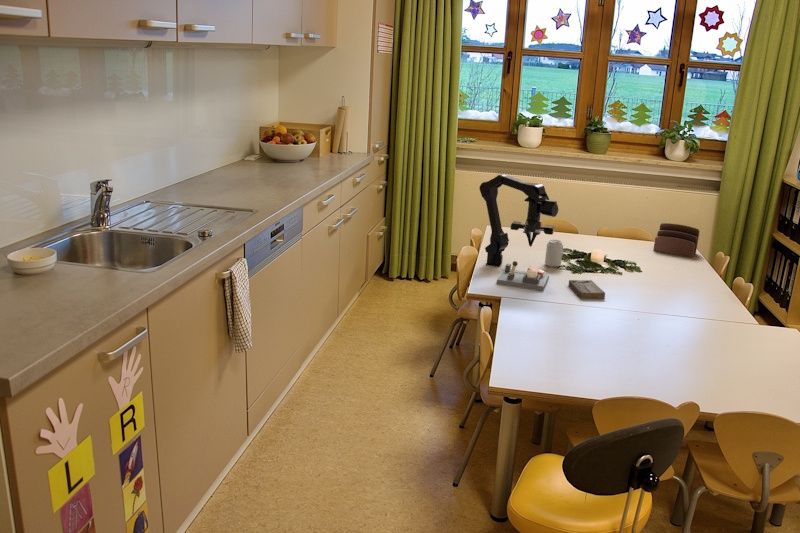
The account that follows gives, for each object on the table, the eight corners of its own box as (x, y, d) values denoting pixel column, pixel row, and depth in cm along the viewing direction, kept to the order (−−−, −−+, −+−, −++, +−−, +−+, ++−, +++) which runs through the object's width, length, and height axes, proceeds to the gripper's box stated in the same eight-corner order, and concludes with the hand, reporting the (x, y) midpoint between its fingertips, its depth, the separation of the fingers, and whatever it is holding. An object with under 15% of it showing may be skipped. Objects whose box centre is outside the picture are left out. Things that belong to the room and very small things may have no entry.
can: (560, 268, 350) (563, 243, 347) (544, 266, 352) (547, 242, 348) (560, 263, 358) (563, 239, 354) (544, 262, 359) (547, 238, 355)
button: (525, 280, 322) (526, 271, 321) (527, 277, 326) (528, 268, 325) (535, 281, 321) (536, 273, 320) (537, 278, 325) (538, 270, 324)
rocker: (527, 271, 330) (528, 267, 330) (528, 268, 334) (529, 265, 333) (542, 276, 329) (543, 273, 328) (543, 274, 332) (544, 270, 332)
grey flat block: (580, 300, 311) (581, 292, 310) (567, 286, 327) (568, 279, 326) (605, 300, 312) (606, 293, 311) (591, 286, 328) (592, 279, 328)
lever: (508, 277, 325) (512, 261, 323) (509, 275, 327) (513, 259, 325) (512, 278, 325) (517, 262, 322) (513, 277, 327) (518, 261, 324)
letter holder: (656, 246, 397) (660, 221, 393) (695, 253, 388) (700, 227, 384) (652, 251, 389) (657, 224, 385) (692, 258, 380) (697, 231, 376)
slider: (504, 271, 334) (505, 265, 333) (506, 269, 337) (506, 263, 336) (509, 271, 334) (510, 265, 333) (510, 270, 336) (511, 264, 335)
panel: (495, 283, 324) (496, 274, 322) (503, 272, 340) (504, 263, 339) (543, 291, 318) (544, 281, 317) (548, 278, 334) (549, 269, 333)
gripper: (510, 213, 327) (506, 248, 331) (553, 219, 321) (549, 253, 326) (514, 208, 337) (511, 241, 341) (556, 213, 331) (552, 247, 336)
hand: (530, 246), depth 336 cm, fingers closed
